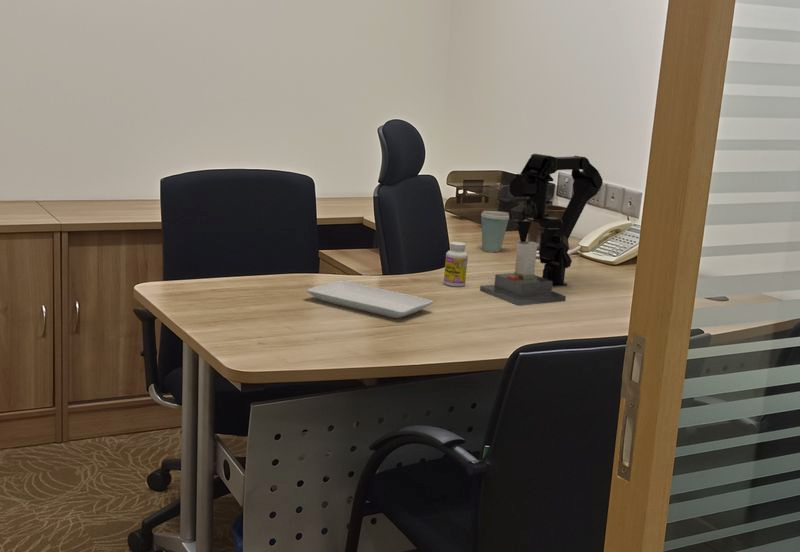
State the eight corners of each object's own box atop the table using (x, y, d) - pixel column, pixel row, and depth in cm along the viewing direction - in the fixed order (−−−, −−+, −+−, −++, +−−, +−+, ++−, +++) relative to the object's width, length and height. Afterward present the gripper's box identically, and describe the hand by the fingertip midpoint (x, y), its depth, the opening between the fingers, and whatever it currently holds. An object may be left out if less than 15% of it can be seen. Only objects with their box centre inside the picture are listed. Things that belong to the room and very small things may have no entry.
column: (527, 276, 278) (530, 241, 276) (536, 279, 275) (540, 243, 272) (511, 277, 275) (515, 241, 273) (520, 280, 272) (524, 244, 269)
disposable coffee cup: (472, 248, 348) (476, 208, 344) (497, 247, 352) (500, 208, 349) (486, 253, 338) (490, 213, 335) (511, 253, 343) (515, 213, 340)
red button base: (526, 287, 288) (528, 267, 287) (565, 301, 273) (567, 280, 272) (479, 290, 279) (481, 270, 277) (517, 305, 264) (520, 284, 263)
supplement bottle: (439, 284, 283) (443, 243, 280) (448, 280, 289) (452, 240, 286) (459, 288, 280) (463, 246, 277) (468, 284, 286) (472, 243, 283)
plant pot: (518, 248, 353) (523, 206, 350) (525, 242, 368) (529, 202, 365) (561, 254, 349) (566, 211, 345) (566, 247, 364) (571, 206, 360)
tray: (400, 324, 236) (401, 311, 235) (303, 300, 252) (303, 288, 251) (434, 312, 250) (435, 300, 249) (340, 291, 266) (340, 279, 265)
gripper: (497, 191, 285) (492, 241, 288) (537, 201, 269) (531, 253, 273) (525, 191, 291) (520, 240, 294) (566, 200, 275) (560, 252, 279)
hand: (532, 246), depth 285 cm, fingers open, 9 cm apart
